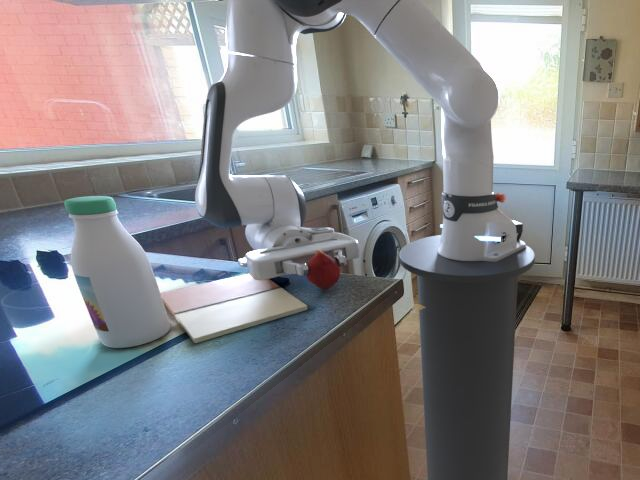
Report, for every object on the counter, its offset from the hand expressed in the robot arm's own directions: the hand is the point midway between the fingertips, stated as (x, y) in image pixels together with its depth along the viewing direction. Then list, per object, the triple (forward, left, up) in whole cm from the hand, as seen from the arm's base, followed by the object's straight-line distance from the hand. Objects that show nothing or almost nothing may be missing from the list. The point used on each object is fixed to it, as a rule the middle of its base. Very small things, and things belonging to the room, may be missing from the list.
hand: (324, 266), depth 75 cm
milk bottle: (+27, -3, -5) cm, 28 cm away
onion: (0, -1, -5) cm, 5 cm away
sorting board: (+14, -6, -5) cm, 16 cm away
